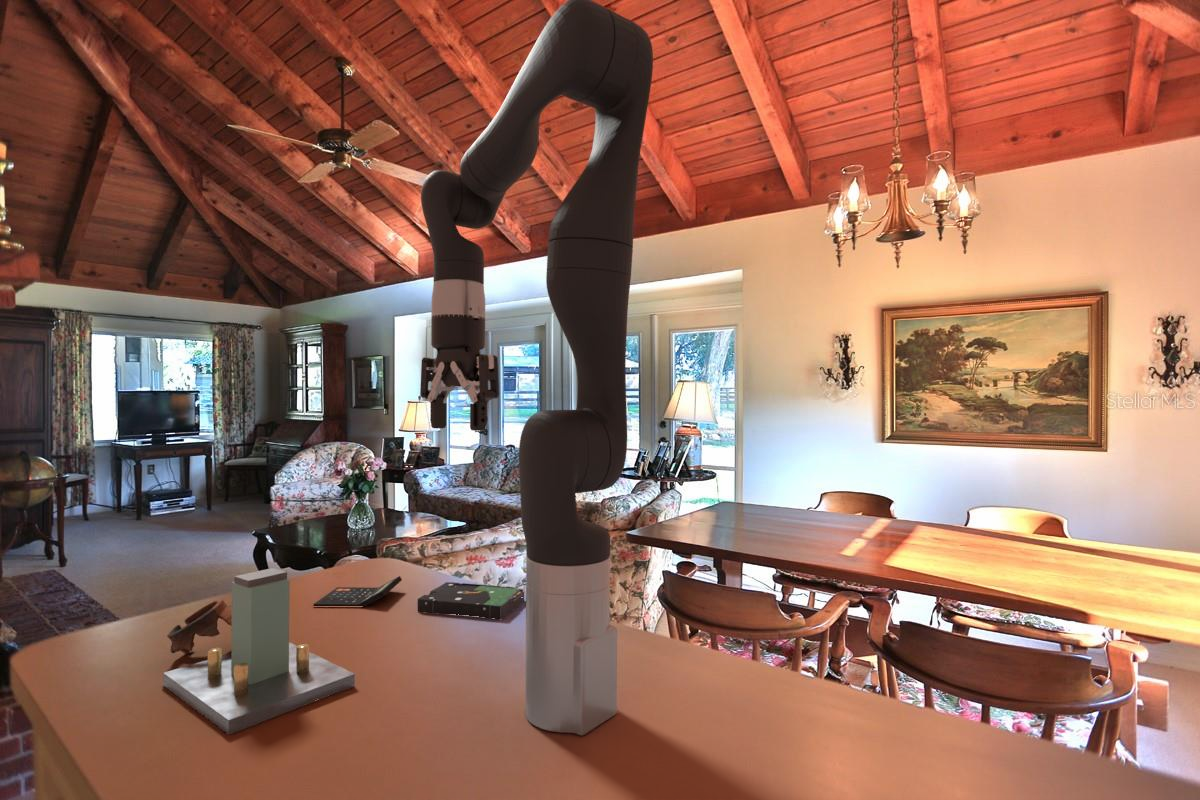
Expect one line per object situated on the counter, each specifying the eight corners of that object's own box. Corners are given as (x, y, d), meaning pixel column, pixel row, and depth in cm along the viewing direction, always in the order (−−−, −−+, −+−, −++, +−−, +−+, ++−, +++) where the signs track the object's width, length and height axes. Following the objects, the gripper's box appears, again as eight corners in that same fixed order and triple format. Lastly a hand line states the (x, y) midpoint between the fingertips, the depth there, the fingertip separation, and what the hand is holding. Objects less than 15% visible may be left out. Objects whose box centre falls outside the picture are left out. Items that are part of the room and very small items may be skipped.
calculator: (337, 592, 114) (337, 575, 114) (402, 592, 114) (402, 575, 114) (313, 609, 104) (313, 590, 104) (383, 609, 104) (384, 591, 104)
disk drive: (416, 616, 102) (502, 623, 99) (416, 599, 102) (502, 605, 99) (445, 597, 112) (525, 602, 109) (445, 581, 112) (525, 586, 109)
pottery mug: (236, 675, 80) (198, 622, 78) (180, 700, 82) (141, 650, 80) (290, 619, 91) (257, 572, 90) (240, 642, 93) (207, 597, 92)
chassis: (354, 686, 76) (354, 648, 76) (228, 734, 64) (228, 690, 64) (281, 649, 87) (281, 616, 87) (163, 685, 75) (163, 647, 76)
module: (289, 670, 76) (290, 572, 76) (250, 684, 72) (251, 581, 73) (269, 661, 79) (270, 567, 79) (230, 675, 75) (231, 575, 75)
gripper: (406, 316, 92) (405, 428, 92) (471, 308, 83) (470, 432, 83) (447, 322, 98) (446, 427, 98) (512, 314, 89) (512, 430, 89)
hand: (457, 429), depth 90 cm, fingers open, 8 cm apart
